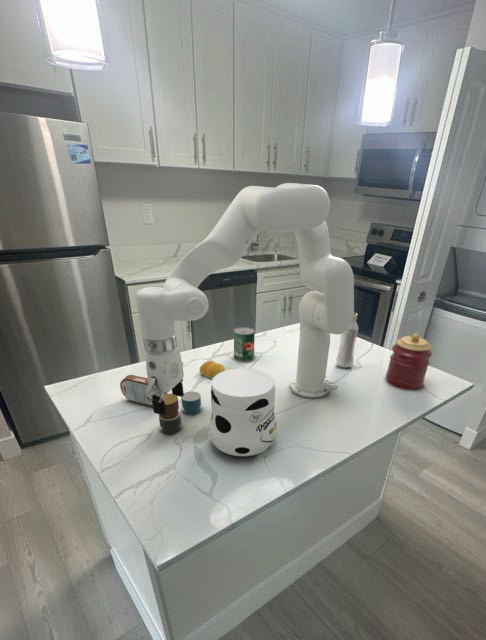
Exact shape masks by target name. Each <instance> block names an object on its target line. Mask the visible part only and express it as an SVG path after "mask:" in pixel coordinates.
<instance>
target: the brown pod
mask: <svg viewBox="0 0 486 640" xmlns="http://www.w3.org/2000/svg"><path fill="white" fill-rule="evenodd" d="M158 397H159V396H158ZM163 400H164V402H165V408H166V414H165V415H161V414H158V416H159V415H160V417H161V418H163V419H173V418H175V417H177V416H178V411H179V409H180V405H179V396H176V395H174V394H172V393H168V394H164V395H163Z"/></svg>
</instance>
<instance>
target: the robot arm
mask: <svg viewBox="0 0 486 640" xmlns="http://www.w3.org/2000/svg"><path fill="white" fill-rule="evenodd" d="M330 211H331V199H330V195H329V193H328V192H327V191H326V190H325V189H324V187H322V186H320V185H317V184H309V183H296V182H284V183H281V184H279V185H277V186H276V187H273V186H272V187H271V186H270V187H269V186H261V185H248V186H246V187H243V188H242V189H241V190H240V191H239V192H238V193H237V195H236V196H235V197H234V199H233V200H232V202H231V203H230V204H229V205H228V207H227V208H226V210H225V211H224V213H223V215H222V216H221V217H220V218H219V220H218V221H217V223H216V224H215V225H214V227H213V228H212V230H211V231H210V233H209V234H208V235H207V236H206V237H205V238H204V239H203V240H202V241H200V242H199V243H198V244H196V246H195V247H194V248H192V249H191V250H190V251H189V252H187V253H186V254H185V255H184V256H183V257H182V258H181V259H180V260H179V261H178V263H177V264H176V265H175V267H174V268H173V269H172V271H171V273H170V274H169V275H168V276H167V278H166V280H165V281H164V283H163V287H161V286H147V287H143V288H140V289H139V290H137V291H136V293H135V302H136V307H137V313H138V318H139V324H140V331H141V335H142V341H143V348H144V351H145V369H146V378H148V383H149V384H148V386H147V388H146V390H145V394H146V395H147V397H148V399H150V401H152V405H153V407H152V409H153V410H152V411H153V413H154V414H157V415H159V414H161V415H165V414H166V408H165V402H164V400H163V395H164V392H165V393H169V392H171V394H174V395H176V396H177V397H180V398H181V397H183V396H184V393H185V392H184V385H183V382H184V376H185V374H184V362H183V361H182V355H181V351H180V349H179V346H178V342H177V336H176V335H177V334H176V328H175V322H192V321H193V322H194V321H198V320H200V319H202V318H203V317H205V315H206V314H207V312H208V311H209V300H208V296H207V295H206V294H205V293H204V292H203V291H202V290H201V289H199V286H200V285H201V284H202V282H203V281H204V280H206V279H207V278H208V277H209V276H210V275H212V274H214V273H215V272H218V271H221V270H224V269H225V270H226V269H227V268H230V267H232V266H234V265H236V264H237V263H239V261H240V260H241V259H242V257H243V255H245V252H246V251H247V249H248V248H249V247H250V245H251V244H252V243H253V241H254V240H255V239H256V237H257V236H258V234H259V233H260V232H265V233H271V234H277V233H278V234H279V233H289V232H293V233H294V236H295V239H296V246H297V253H298V254H297V255H298V263H299V275H300V276H299V277H300V280H301V283H302V284H303V286H305V287H306V288H307V289H310V290H311V291H308V292H306V293H305V294H304V295H303V296H302V298H301V299H300V301H299V304H298V319H299V341H298V352H297V353H298V354H297V364H296V365H297V366H296V377H295V379H294V380H293V381H292V382H291V384H290V389H291V391H292V392H293V393H294V394H295V395H297V396H300V397H303V398H309V399H315V398H321V397H324V396H326V395H327V394H328V393H329V390H332V391H338V389H339V384H336V381H334V380H329V379H328V375H327V369H328V361H329V354H330V353H329V352H330V346H331V334H332V335H341V334H342V333H344V332H345V331H347V329H348V328H349V327H350V325H351V323H352V320H353V314H354V313H355V277H354V272H353V269H352V266H351V265H350V263H349V262H348V261H347V260H346V259H343V258H341V257H337V256H334V255H332V251H331V242H330V241H331V240H330V232H329V231H330V230H329V227H328V224H327V220H326V219H327V218H328V216H329V214H330ZM157 387H159V388H160V389H157ZM156 391H157V392H160V393H159V397H158V396H157V395H155V394H156Z"/></svg>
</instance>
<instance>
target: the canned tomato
mask: <svg viewBox="0 0 486 640" xmlns="http://www.w3.org/2000/svg"><path fill="white" fill-rule="evenodd" d="M255 332H256V330H255V329H254V328H252V327H250V326H249V327H248V326H239V327H236V328H233V359H234V360H235V361H237V362H240V363H248V362H252V361H255V340H256V339H255V337H256V336H255V335H256V334H255Z"/></svg>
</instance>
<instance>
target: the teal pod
mask: <svg viewBox="0 0 486 640" xmlns="http://www.w3.org/2000/svg"><path fill="white" fill-rule="evenodd" d="M201 397H202V396H201V394H200V392H197V391H186V392H184V396H183V397H180V399H181V400H180V401H181V407H182V408H183V412H184V414H186V415H196V414H198V413H200V411H201V406H202V398H201Z"/></svg>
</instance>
